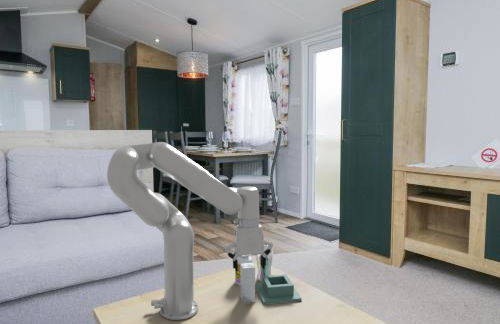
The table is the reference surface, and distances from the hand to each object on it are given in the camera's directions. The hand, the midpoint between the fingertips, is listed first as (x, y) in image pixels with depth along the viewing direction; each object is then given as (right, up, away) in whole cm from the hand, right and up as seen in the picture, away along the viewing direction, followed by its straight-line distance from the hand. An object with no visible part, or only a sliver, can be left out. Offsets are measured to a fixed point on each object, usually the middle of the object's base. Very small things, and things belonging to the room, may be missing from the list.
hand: (249, 268), depth 128 cm
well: (+10, -11, +6) cm, 16 cm away
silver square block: (-1, -12, +1) cm, 12 cm away
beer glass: (+6, -10, +19) cm, 22 cm away
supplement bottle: (-2, -10, +15) cm, 19 cm away
